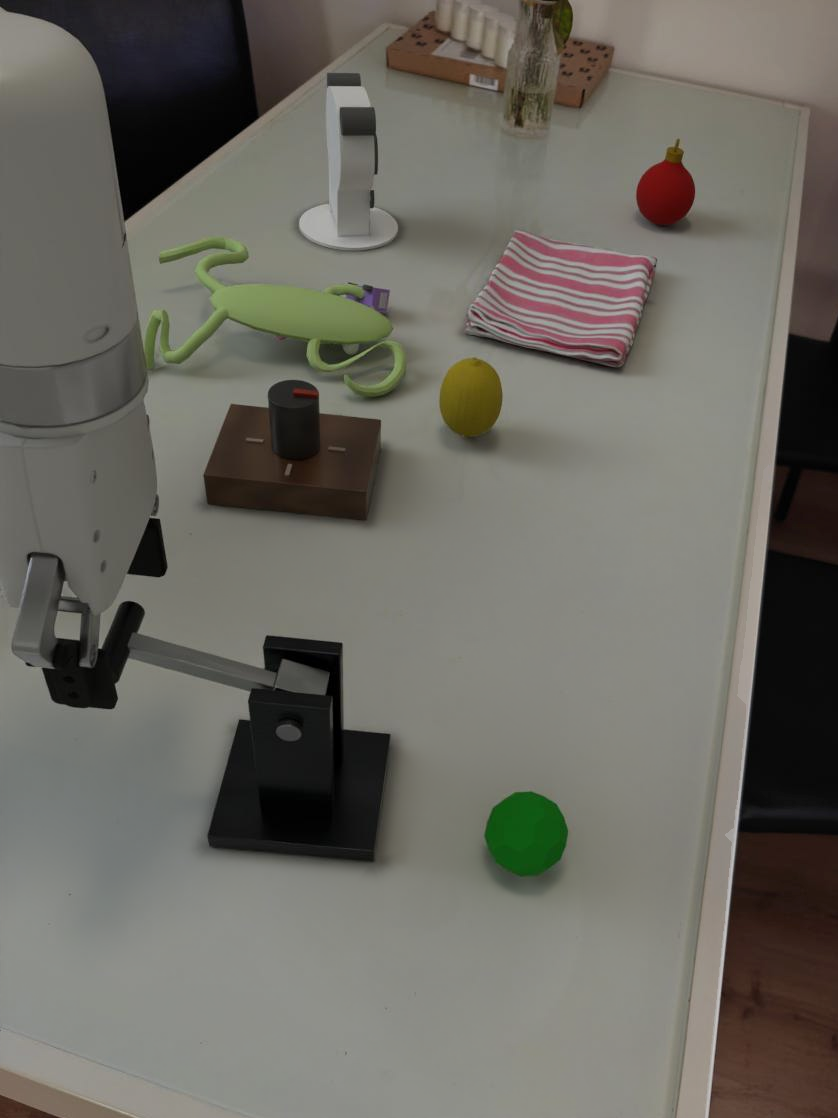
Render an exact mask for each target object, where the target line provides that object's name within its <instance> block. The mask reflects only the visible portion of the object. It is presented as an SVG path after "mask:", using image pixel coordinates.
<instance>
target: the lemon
mask: <svg viewBox="0 0 838 1118" xmlns="http://www.w3.org/2000/svg"><path fill="white" fill-rule="evenodd" d="M502 387H503V386H502V382H501V378H500V376H499V374H498V372H497V371H496V368H494V367H493V366H492V365H491V364H490V363H488V362H487V361H485V360H483V359H480V358H478V357H469V358H464V359H461V360H459V361H457V362H456V363H454V364H453V365H452V366H451V367H449V369H448V370H447V372H446V373H445V375H444V377H443V380H442V383H441V386H440V390H439V400H438V402H439V403H438V404H439V411H440V415H441V417H442V420H443V422H444V424H445V425H446V426H447V427H448V428H449V429H450V430H451V431H452V432H454V433H455V434H457V435H459V436H463V437H464V438H465V439H466V438H467V439H468V438H473V437H479V436H481V435H484V434H485V433H487V432H488V431H490V430H491V429H492V428H493V426H495V424H496V422H497V421H498V420H499V418H500V413H501V410H502V406H503V398H504V397H503V396H504V395H503V388H502Z"/></svg>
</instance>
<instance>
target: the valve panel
mask: <svg viewBox="0 0 838 1118" xmlns="http://www.w3.org/2000/svg"><path fill="white" fill-rule="evenodd" d="M319 413H320V449H319V451H318V452H317V453H316V454H315V455H313V456H311V457H309V458H306V459H301V460H291V459H286V458H283V457H280V456H279V455H277V454H276V453H275V452H274V451H273V449H272V447H271V433H270V419H269V407H265V406H257V405H246V404H238V403H230V405H229V408H228V409H227V412H226V414H225V418H224V420H223V423H222V425H221V428H220V431H219V433H218V436H217V438H216V441H215V444H214V446H213V449H212V451H211V454H210V456H209V459H208V462H207V465H206V466H205V469H204V472H203V475H202V477H203V482H204V483H203V484H204V490H205V498H206V499H205V500H206V504H208V505H217V506H225V507H235V508H245V509H246V508H247V509H254V510H255V509H256V510H257V509H258V510H266V511H273V512H274V511H275V512H284V513H285V512H286V513H295V514H304V515H314V516H321V517H322V516H323V517H331V518H332V517H333V518H340V519H341V518H343V519H352V520H361V521H362V520H363V521H366V520H367V519H368V512H369V508H370V504H371V503H370V502H371V499H372V493H373V488H374V484H375V483H374V482H375V478H376V473H377V469H378V468H377V467H378V463H379V458H380V453H381V448H382V447H381V445H382V444H381V442H382V419H379V418H368V417H359V416H351V415H342V414H341V415H340V414H333V413H332V414H331V413H322V412H319Z"/></svg>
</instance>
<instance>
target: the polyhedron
mask: <svg viewBox="0 0 838 1118" xmlns="http://www.w3.org/2000/svg"><path fill="white" fill-rule="evenodd" d="M568 836H569V828H568V825H567V822H566V818H565V816H564V814H563V813H562V810H561V809H560V808H559V806H558V804H557V803H556V802H554V801H553V800H551V799H549V798H548V797H546V796H545V795H542V794H539V793H537V792H534V791H516V792H512V793H511V794H510V795H509V796H507V797H505V798H504V799H502V800H501V801H500V802H498V803H497V804H496V805H495V806H493V807H492V809H491V811H490V814H489V816H488V819H487V821H486V826H485V830H484V835H483V837H484V840H485V843H486V845H487V848H488V851H489V853H490V855H491V857H492V859H493V860H494V862H495V864H496V865H498V866H500V867H501V868H503V869H505V870H506V871H508V872H510V873H513V874H515V875H516V876H519V877H535V876H539V875H541V874H542V873H544V872H547V871H548V870H549V869H551V868H552V867H553V866H555V865H556V864H557V863H558V862H560V861H561V859H562V857H563V854H564V852H565V850H566V848H567V844H568Z"/></svg>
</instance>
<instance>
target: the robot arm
mask: <svg viewBox="0 0 838 1118" xmlns="http://www.w3.org/2000/svg"><path fill="white" fill-rule="evenodd" d="M109 118H110V117H109V111H108V107H107V100H106V94H105V89H104V85H103V81H102V77H101V74H100V72H99V69H98V66H97V63H96V62H95V60H94V58H93V56H92V55H91V53H90V52H89V50H88V49H87V48H86V47H85V46H84V44H82V42H81V41H80V40H79V39H78V38H77V37H75V36H74V35H72V34H71V33H70V32H69V31H67V30H66V29H64V28H63V27H61V26H59V25H57V24H55V23H53V22H50V21H47V20H44V19H42V18H38V17H33V16H30V15H25V14H22V13H17V12H12V11H11V12H10V11H7V10H5V9H4V7H3V8H2V7H1V6H0V589H1V592H2V595H3V597H4V599H5V601H6V602H7V604H8V605H9V607H11V608H14V609H18V611H17V616H16V620H15V625H14V630H13V632H12V633H13V634H12V638H11V642H10V643H11V644H10V648H11V649H10V650H11V653H12V654H13V655H14V656H15V657H17V658H18V659H20V660H21V661H23V662H24V664H25V666H27V667H29V668H41V671H42V674H43V677H44V680H45V683H46V687H47V690H48V693H49V696H50V699H51V701H52V702H53V703H55V704H58V705H64V706H67V707H70V708H76V709H87V708H91V709H101V710H114V709H116V706H117V703H118V701H119V696H118V692H117V688H116V684H115V683H114V679H113V675H112V670H111V666H110V662H109V658H108V654H107V651H106V650H103V649H101V648H100V647H99V646H100V645H99V644H100V630H101V619H102V617H101V616H102V614H103V613H105V612H106V611H107V610H108V609H109V608H110V607H112V605H113V604H114V602H115V601H116V599H117V597H118V595H119V592H120V590H121V588H122V586H123V583H124V581H125V579H126V578H127V577H126V576H127V575H130V576H131V575H132V576H139V577H141V576H142V577H149V578H150V577H151V578H162V577H164V576H165V575H166V573H167V570H168V568H169V567H168V560H167V553H166V548H165V542H164V535H163V528H162V522H161V518H157V517H156V516H157V515H158V513H159V510H160V496H159V495H158V475H157V466H156V458H155V451H154V445H153V440H152V434H151V429H150V416H149V414H147V410H146V406H145V401H144V400H145V397H146V395H147V394H148V391H149V374H148V369H147V368H146V361H145V355H144V342H143V341H144V340H143V336H142V329H141V322H140V316H139V309H138V302H137V296H136V290H135V284H134V277H133V268H132V263H131V256H130V250H129V243H128V237H127V230H126V224H125V217H124V211H123V205H122V198H121V192H120V185H119V178H118V172H117V171H118V170H117V165H116V157H115V151H114V144H113V137H112V132H111V125H110V119H109ZM151 516H152V517H151ZM65 582H67V586H68V588H69V590H70V591H71V592H72V593H73V594H74V596H67V595H66V596H65V595H62V593H63V588H64V584H65ZM75 596H76V597H75ZM58 612H64V613H73V614H80V627H79V639H72V638H63V637H56V634H55V627H56V622H57V621H56V620H57V616H58Z"/></svg>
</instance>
